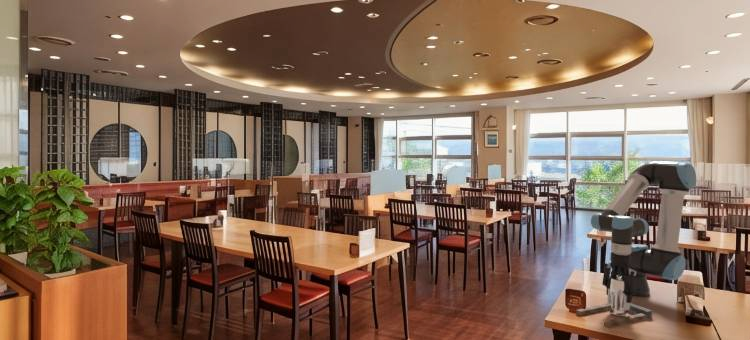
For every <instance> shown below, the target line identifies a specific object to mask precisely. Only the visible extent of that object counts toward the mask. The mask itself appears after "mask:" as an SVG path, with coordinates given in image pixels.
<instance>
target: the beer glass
mask: <svg viewBox="0 0 750 340" xmlns="http://www.w3.org/2000/svg"><path fill="white" fill-rule="evenodd" d="M624 294H626V291H625V281H623V280H622V278H621V277H619V276H618V275H617V277H616V279H615V280H614V279H612V277H611V281H610V296H611V308H610V310H609V313H610V314H612V315H614V316H617V317H626V316H627V311H626V310H623V309H624Z"/></svg>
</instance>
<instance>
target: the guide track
mask: <svg viewBox="0 0 750 340" xmlns="http://www.w3.org/2000/svg"><path fill="white" fill-rule="evenodd" d="M610 308H611V304H607V303H603V304H600V305H599V304H598V305H594V306H590V307H589V306H588V307H585V309H583V308H578V309H576V313H575V314H576V315H578V316H585V315H590V314H595V313H601V312H606V311H608V310H609V311H610ZM626 312H629V313H632V315H626V316H621V317H618V318H614V319H610V320H604V321H603V327H605V328H606V329H607V328H608V329H609V328H615V327H618V326H623V325H627V324H631V322H632V323H635V322H640V321H644V320H648V319H651V318H653V310H652V309H648V308H645V307H643V306H640V305H638V304H634V303H632V302H631V303H630V309H629V310H626ZM626 323H627V324H626ZM622 324H623V325H622Z"/></svg>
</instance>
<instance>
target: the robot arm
mask: <svg viewBox="0 0 750 340" xmlns="http://www.w3.org/2000/svg"><path fill="white" fill-rule="evenodd" d="M696 184H697V173H696V170H695V167H694V166H693V165H692V164H690V163H688V162H682V161H659V160H658V161H656V160H654V161H650V162H646V163H644V164H642V165H640V166H639V167H637V168H636V169H634V170H633V171H632V172H631V173H630V175H628V178H627V182H626V183H625V184H624V185H623V187H621V189H620V190H619V192H618V193H617V194H616V196H615V197H614V198H613V199H612V201H610V203H609V204H608V205H607V207H606V208H605V209H604V210H603V211H602V212H601V213H600V212H597V213H594V214H593V215H592V216H591V217H590V225H591V227H592V228H593V229H594V230H598V231H601V232H602V231H603V232H609V233H611V239H610V240H611V242H610V243H611V244H610V251H611V252H610V262H605V263H603V266H604V269H603V277H602V286H605V288H606V293H605V294H606V296H607V303H606V304H611V296H610V281H611V277H612V279H614V280H615V279H616V277H617V276H619V277H621V278H622V280H623V281H625V291H626V294H624V309H623V310H629V309H630V303H632V299H633V296H634V297H647V296H649V295H650V294H651V291H650V286H649V283H648V279H647V275H649V276H653V277H657V278H661V279H663V280H670V281H676V280H678V279H680V277H681V276H682V274H683V273H684V271H685V268H686V263H687V262H686V258H685V257H684V256H683V255H682V251H681V250H680V249H679V247H678V246H679V238H680V232H681V224H682V215H683V208H684V199H685V196H687V194H689V192H690V189H691V190H692V189H693V188H695V187H696ZM652 186H657V187H658V190H659V191H660V193H661V199H660V206H659V215H658V223H657V231H656V237H655V243H654V244H652V246H651V247H650V248H649V245H646V244H639V243H637V244H635V243H633V238H634V237H635V238H636V237H642V236H644V235H647V234H648V232H649V230H650V226H649V223H648V222H647V221H646V220H645V219H644V218H641V217H639V218H638V217H636V218H632V217H631V216H629V215H628V216H627V215H625V214H626V213H627V211H628V210H629V209H630V207H631V206H633V204H634V203H635V201H636V200H637V199H638V198H639V196H640V195H641V194H642V192H643V191H645V190H647V189H648V188H649V187H652Z"/></svg>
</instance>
